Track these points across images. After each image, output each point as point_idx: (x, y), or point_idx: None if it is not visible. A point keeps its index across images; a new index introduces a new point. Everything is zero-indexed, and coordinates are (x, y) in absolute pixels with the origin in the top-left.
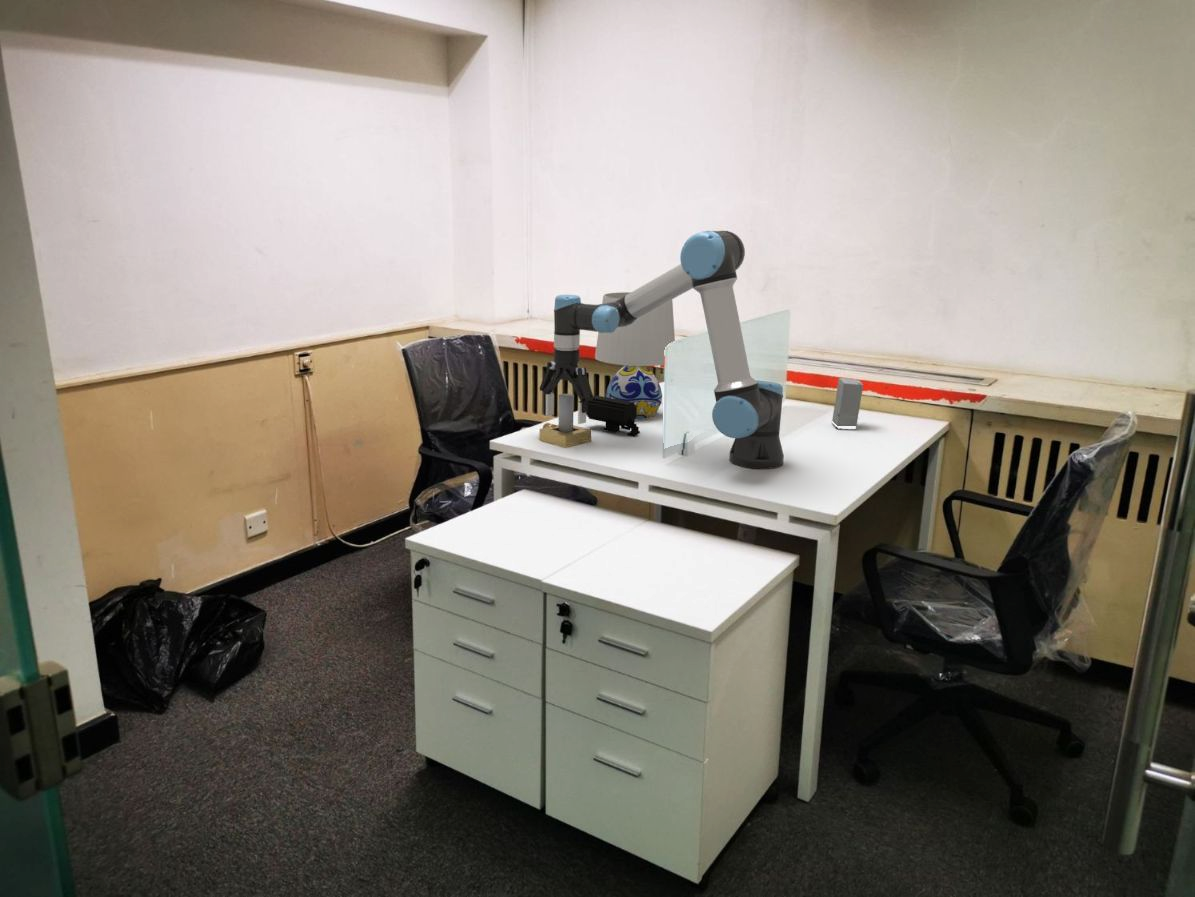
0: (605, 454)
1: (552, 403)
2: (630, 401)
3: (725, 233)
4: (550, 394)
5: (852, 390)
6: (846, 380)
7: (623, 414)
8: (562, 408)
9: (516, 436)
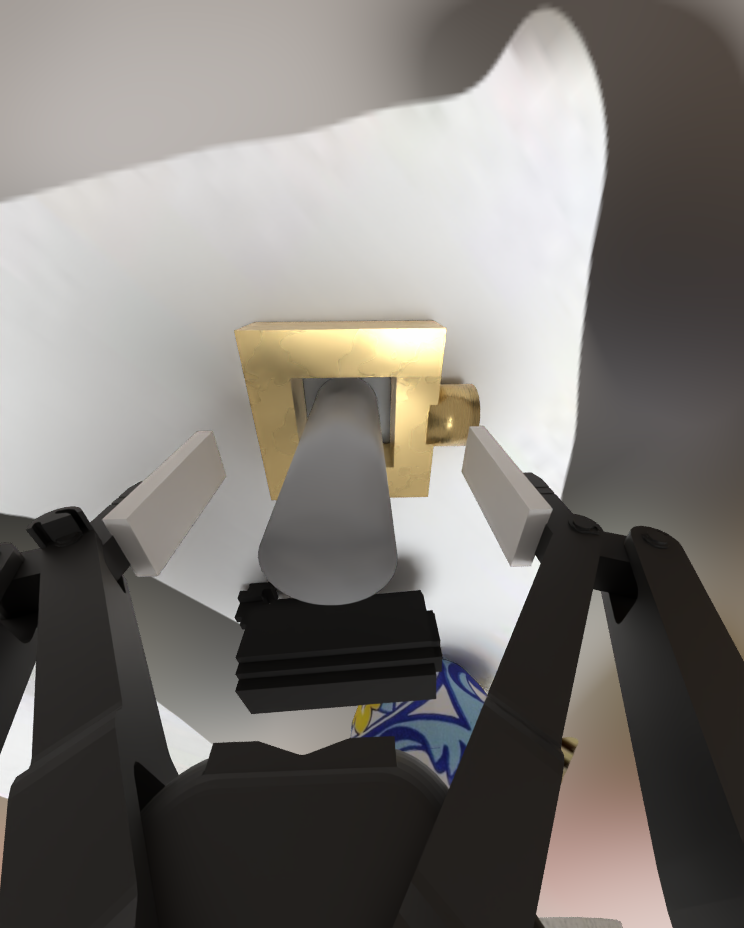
0: (72, 380)
1: (486, 503)
2: (386, 719)
3: None
4: (519, 535)
5: None
6: None
7: (243, 639)
8: (317, 450)
9: (571, 283)
